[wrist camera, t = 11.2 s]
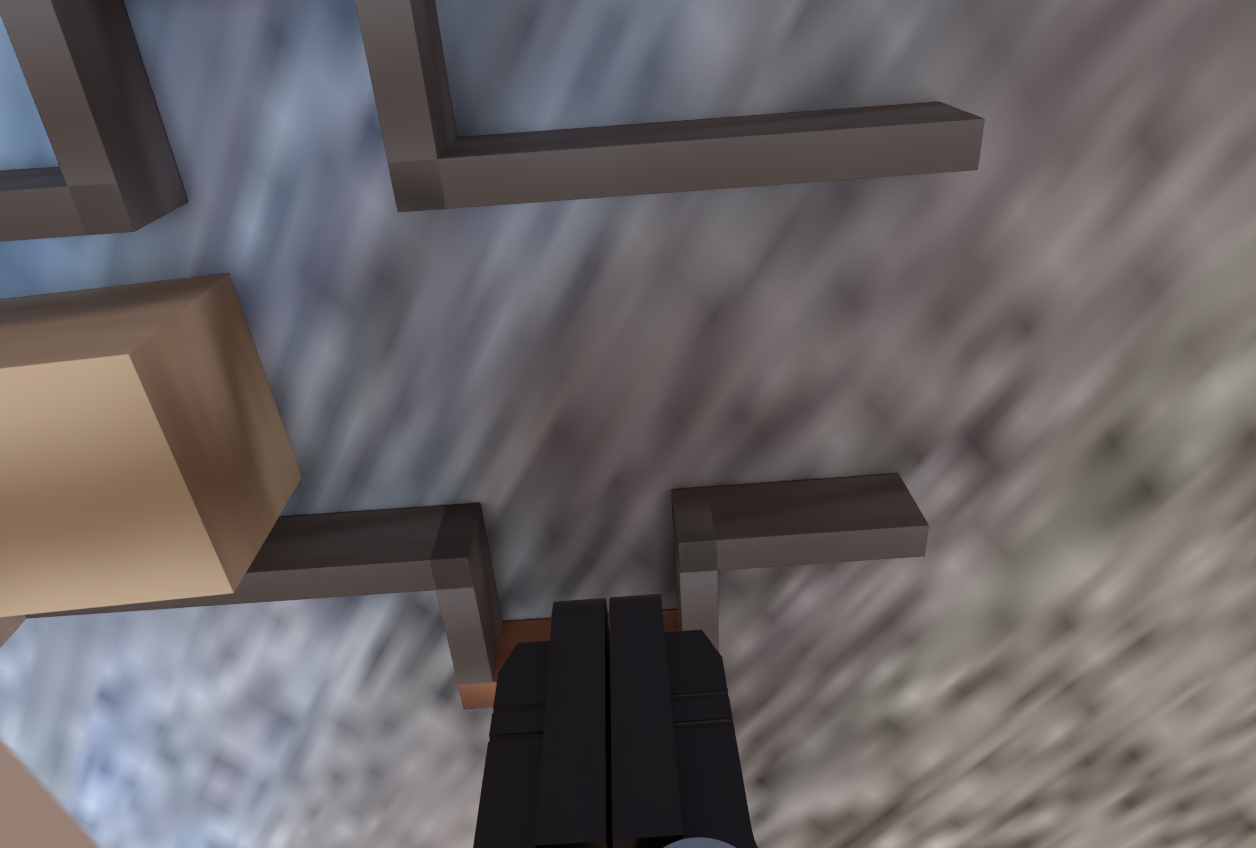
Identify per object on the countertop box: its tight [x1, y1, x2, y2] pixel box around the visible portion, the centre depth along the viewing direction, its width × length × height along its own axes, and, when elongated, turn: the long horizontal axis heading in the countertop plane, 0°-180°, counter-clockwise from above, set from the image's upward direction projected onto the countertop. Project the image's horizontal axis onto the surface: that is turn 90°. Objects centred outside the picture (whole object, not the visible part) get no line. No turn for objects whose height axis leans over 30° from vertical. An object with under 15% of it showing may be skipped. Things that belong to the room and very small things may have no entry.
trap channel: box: [0, 0, 985, 709], centre depth 19 cm, size 20×25×5 cm
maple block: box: [0, 273, 302, 617], centre depth 20 cm, size 6×6×5 cm
